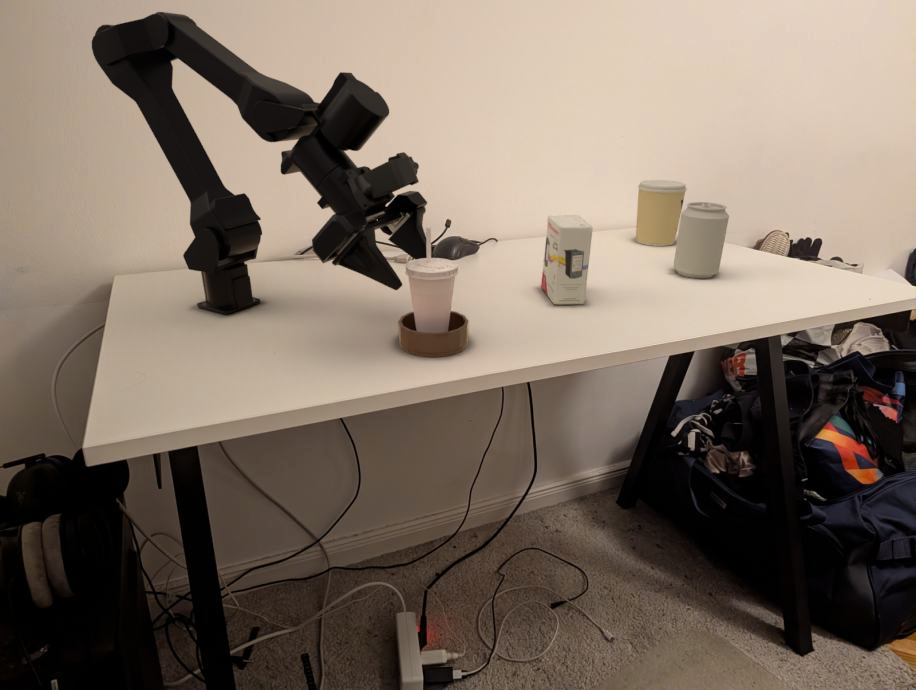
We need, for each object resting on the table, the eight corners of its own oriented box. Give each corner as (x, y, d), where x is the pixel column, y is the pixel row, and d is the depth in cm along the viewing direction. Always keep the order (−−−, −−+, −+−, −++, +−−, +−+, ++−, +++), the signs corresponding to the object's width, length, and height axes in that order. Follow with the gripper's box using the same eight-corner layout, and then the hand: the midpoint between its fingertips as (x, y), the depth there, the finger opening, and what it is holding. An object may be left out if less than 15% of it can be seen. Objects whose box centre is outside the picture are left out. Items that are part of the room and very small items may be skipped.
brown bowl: (385, 347, 75) (384, 324, 74) (424, 325, 82) (423, 304, 81) (444, 362, 71) (444, 339, 70) (479, 338, 78) (480, 316, 77)
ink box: (540, 288, 97) (545, 214, 93) (571, 287, 98) (577, 214, 93) (553, 306, 89) (559, 226, 85) (586, 305, 90) (594, 226, 85)
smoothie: (436, 325, 80) (435, 220, 75) (468, 340, 76) (470, 229, 70) (396, 337, 77) (393, 227, 71) (427, 353, 72) (426, 237, 67)
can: (672, 277, 103) (683, 206, 99) (672, 266, 110) (682, 199, 105) (719, 281, 101) (733, 209, 97) (716, 269, 108) (728, 201, 103)
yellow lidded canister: (687, 245, 124) (697, 185, 119) (646, 248, 122) (655, 187, 117) (661, 235, 132) (669, 179, 128) (623, 237, 130) (630, 180, 125)
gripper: (326, 136, 61) (425, 255, 62) (412, 125, 77) (490, 220, 77) (272, 207, 67) (362, 315, 68) (362, 184, 83) (435, 272, 83)
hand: (417, 277), depth 74 cm, fingers open, 9 cm apart
